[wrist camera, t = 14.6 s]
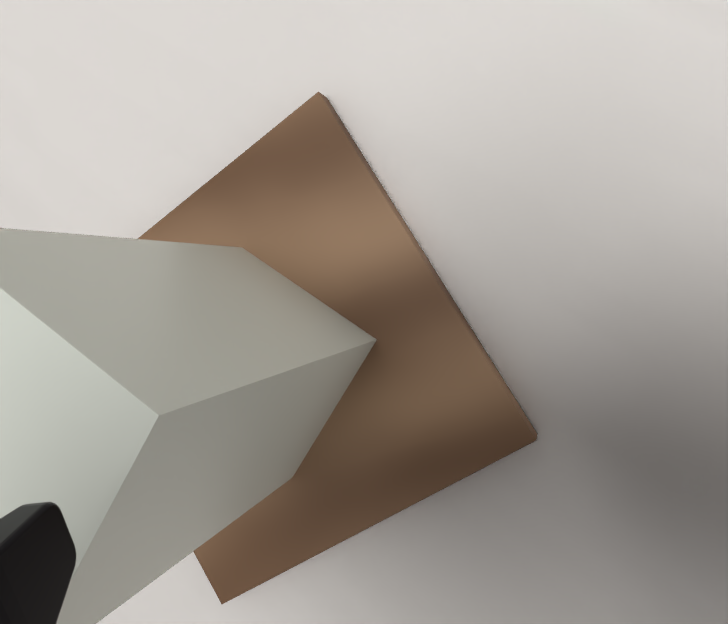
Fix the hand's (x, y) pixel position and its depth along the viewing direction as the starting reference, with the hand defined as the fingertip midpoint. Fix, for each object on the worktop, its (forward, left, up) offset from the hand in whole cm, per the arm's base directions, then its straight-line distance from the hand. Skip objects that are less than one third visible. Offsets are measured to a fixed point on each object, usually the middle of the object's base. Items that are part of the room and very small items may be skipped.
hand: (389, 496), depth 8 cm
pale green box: (+4, +7, -13) cm, 15 cm away
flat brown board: (+4, +7, -13) cm, 16 cm away
